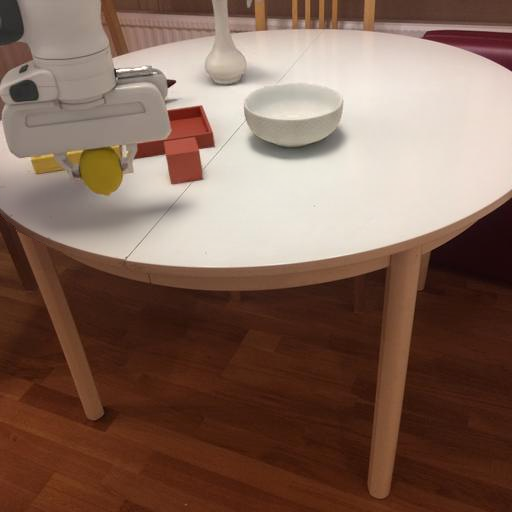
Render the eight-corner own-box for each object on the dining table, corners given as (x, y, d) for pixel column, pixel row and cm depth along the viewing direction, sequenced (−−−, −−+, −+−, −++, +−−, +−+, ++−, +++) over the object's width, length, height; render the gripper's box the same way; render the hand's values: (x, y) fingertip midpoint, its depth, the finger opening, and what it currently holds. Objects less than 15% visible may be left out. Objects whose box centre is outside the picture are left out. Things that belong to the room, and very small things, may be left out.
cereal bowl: (328, 165, 83) (329, 123, 79) (231, 154, 88) (227, 114, 84) (350, 122, 96) (353, 84, 91) (265, 115, 101) (263, 78, 97)
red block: (171, 184, 81) (166, 155, 78) (168, 169, 85) (163, 141, 82) (203, 179, 82) (199, 150, 79) (198, 164, 86) (194, 136, 83)
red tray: (132, 159, 89) (129, 145, 88) (130, 128, 100) (127, 115, 98) (214, 146, 91) (213, 132, 90) (203, 117, 102) (202, 104, 100)
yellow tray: (35, 174, 87) (30, 159, 85) (43, 141, 97) (38, 128, 96) (121, 160, 89) (118, 146, 87) (120, 130, 99) (117, 116, 98)
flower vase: (258, 93, 110) (250, -42, 95) (180, 86, 116) (161, -42, 101) (278, 72, 120) (274, -53, 104) (206, 67, 126) (192, -53, 110)
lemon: (93, 185, 75) (80, 134, 71) (131, 185, 75) (120, 132, 70) (82, 206, 71) (66, 152, 66) (122, 205, 71) (110, 151, 66)
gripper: (162, 56, 67) (176, 154, 75) (-7, 74, 64) (28, 175, 72) (166, 71, 62) (181, 175, 70) (-17, 92, 59) (22, 198, 67)
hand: (102, 175), depth 71 cm, fingers closed on lemon, 5 cm apart
